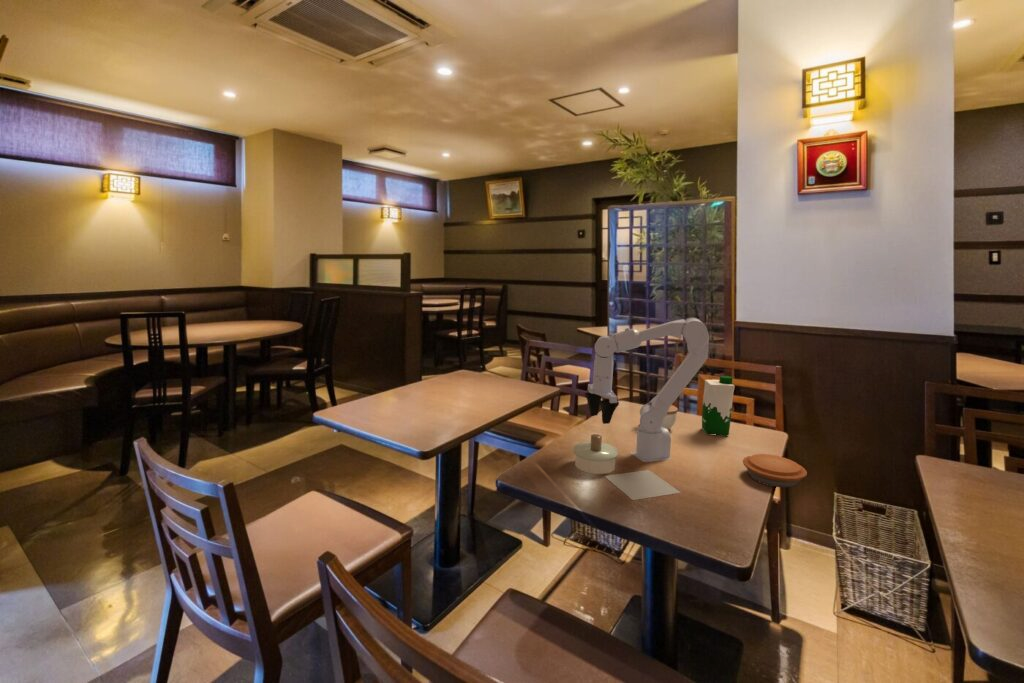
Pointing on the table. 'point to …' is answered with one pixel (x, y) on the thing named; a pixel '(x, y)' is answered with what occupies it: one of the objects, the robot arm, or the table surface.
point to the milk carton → (717, 405)
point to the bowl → (595, 465)
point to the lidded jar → (670, 417)
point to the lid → (596, 450)
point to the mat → (641, 484)
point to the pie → (774, 470)
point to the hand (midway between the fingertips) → (599, 419)
